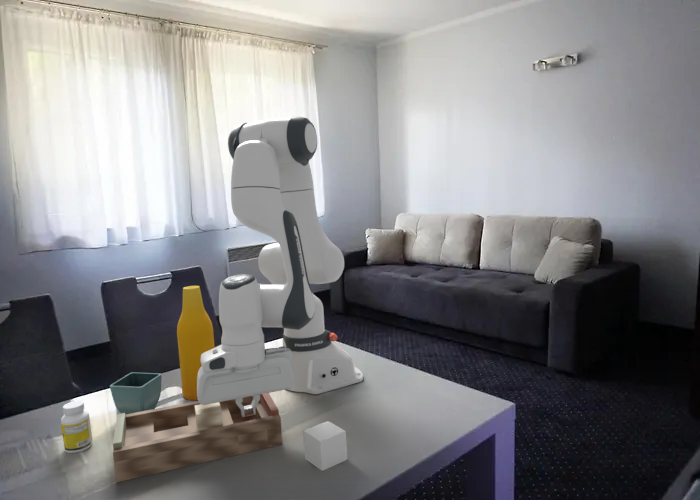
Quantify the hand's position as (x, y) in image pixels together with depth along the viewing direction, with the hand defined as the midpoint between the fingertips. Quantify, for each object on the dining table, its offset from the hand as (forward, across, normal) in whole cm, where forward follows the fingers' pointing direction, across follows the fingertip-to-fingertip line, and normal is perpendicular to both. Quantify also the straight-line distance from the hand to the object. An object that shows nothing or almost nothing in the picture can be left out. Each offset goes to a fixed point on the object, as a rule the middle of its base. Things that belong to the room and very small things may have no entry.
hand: (248, 415), depth 109 cm
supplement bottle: (+6, +35, -14) cm, 38 cm away
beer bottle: (+6, +8, -32) cm, 33 cm away
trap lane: (+6, +10, -4) cm, 12 cm away
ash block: (+2, +8, 0) cm, 8 cm away
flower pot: (+6, +23, -26) cm, 35 cm away
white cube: (+6, -12, +14) cm, 20 cm away
